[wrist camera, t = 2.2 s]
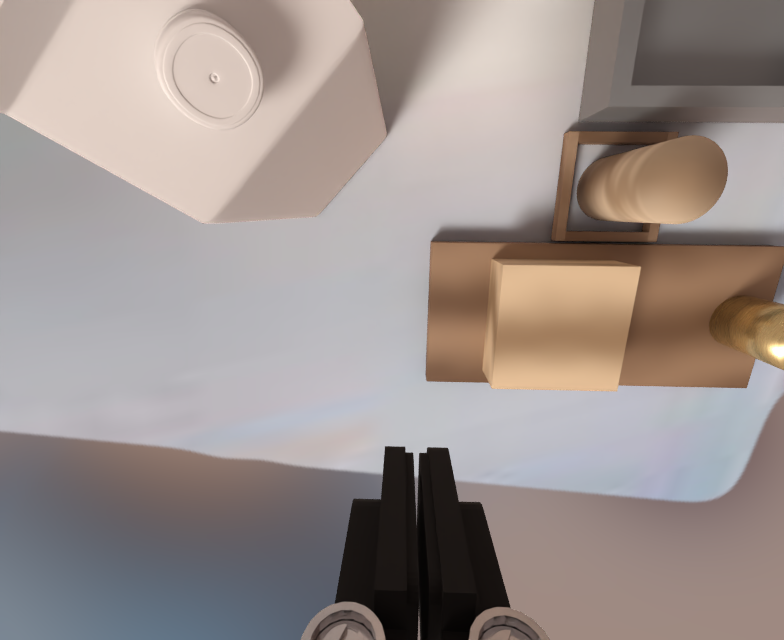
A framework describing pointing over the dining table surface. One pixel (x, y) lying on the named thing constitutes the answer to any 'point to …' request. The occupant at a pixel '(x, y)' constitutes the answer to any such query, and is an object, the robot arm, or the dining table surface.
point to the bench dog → (751, 328)
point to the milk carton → (200, 97)
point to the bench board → (649, 317)
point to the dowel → (655, 182)
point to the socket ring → (566, 180)
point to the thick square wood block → (558, 323)
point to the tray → (685, 61)
